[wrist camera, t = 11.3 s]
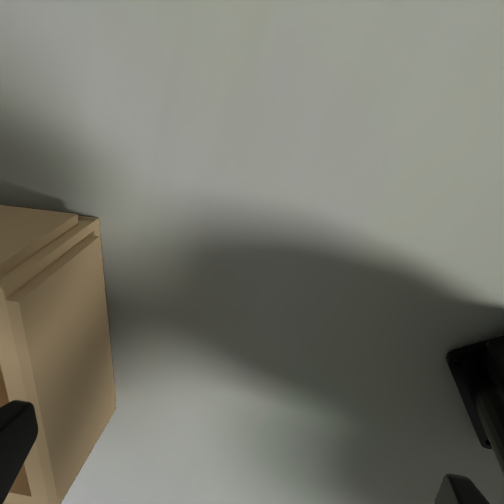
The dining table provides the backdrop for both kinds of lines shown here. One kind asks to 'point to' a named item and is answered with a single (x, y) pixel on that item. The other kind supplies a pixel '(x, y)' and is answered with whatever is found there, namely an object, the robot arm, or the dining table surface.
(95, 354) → the carton
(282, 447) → the dining table surface
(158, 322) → the dining table surface
